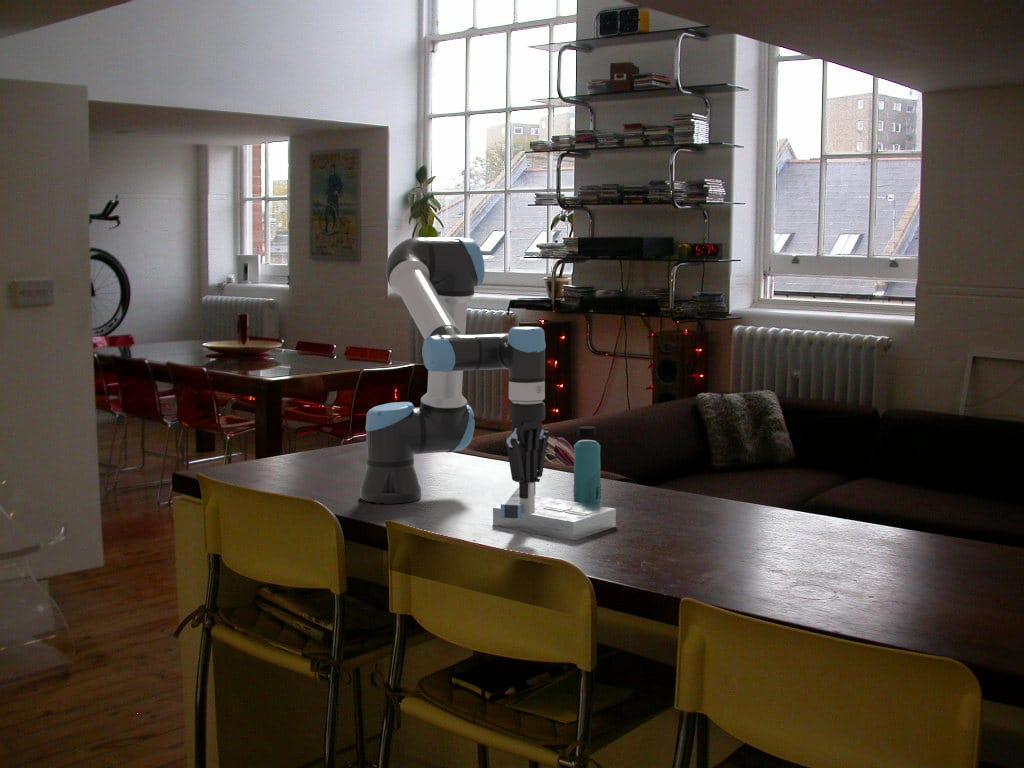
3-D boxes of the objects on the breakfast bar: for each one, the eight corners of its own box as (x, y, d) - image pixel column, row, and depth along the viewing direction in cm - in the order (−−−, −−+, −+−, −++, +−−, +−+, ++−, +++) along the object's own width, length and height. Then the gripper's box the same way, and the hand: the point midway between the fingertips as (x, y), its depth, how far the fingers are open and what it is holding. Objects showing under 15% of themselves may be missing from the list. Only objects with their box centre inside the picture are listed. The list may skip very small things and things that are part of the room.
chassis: (492, 525, 244) (492, 487, 243) (536, 512, 257) (536, 476, 256) (573, 540, 231) (573, 500, 230) (615, 526, 243) (615, 488, 242)
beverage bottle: (599, 514, 255) (599, 429, 253) (570, 512, 256) (571, 428, 254) (602, 508, 261) (603, 425, 259) (574, 506, 263) (575, 424, 260)
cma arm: (514, 499, 246) (514, 487, 246) (533, 500, 246) (534, 488, 245) (500, 517, 229) (500, 504, 229) (521, 518, 228) (521, 505, 228)
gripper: (522, 406, 221) (522, 521, 223) (560, 399, 231) (560, 509, 233) (493, 403, 225) (494, 515, 228) (531, 396, 235) (532, 504, 238)
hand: (527, 512), depth 231 cm, fingers closed
